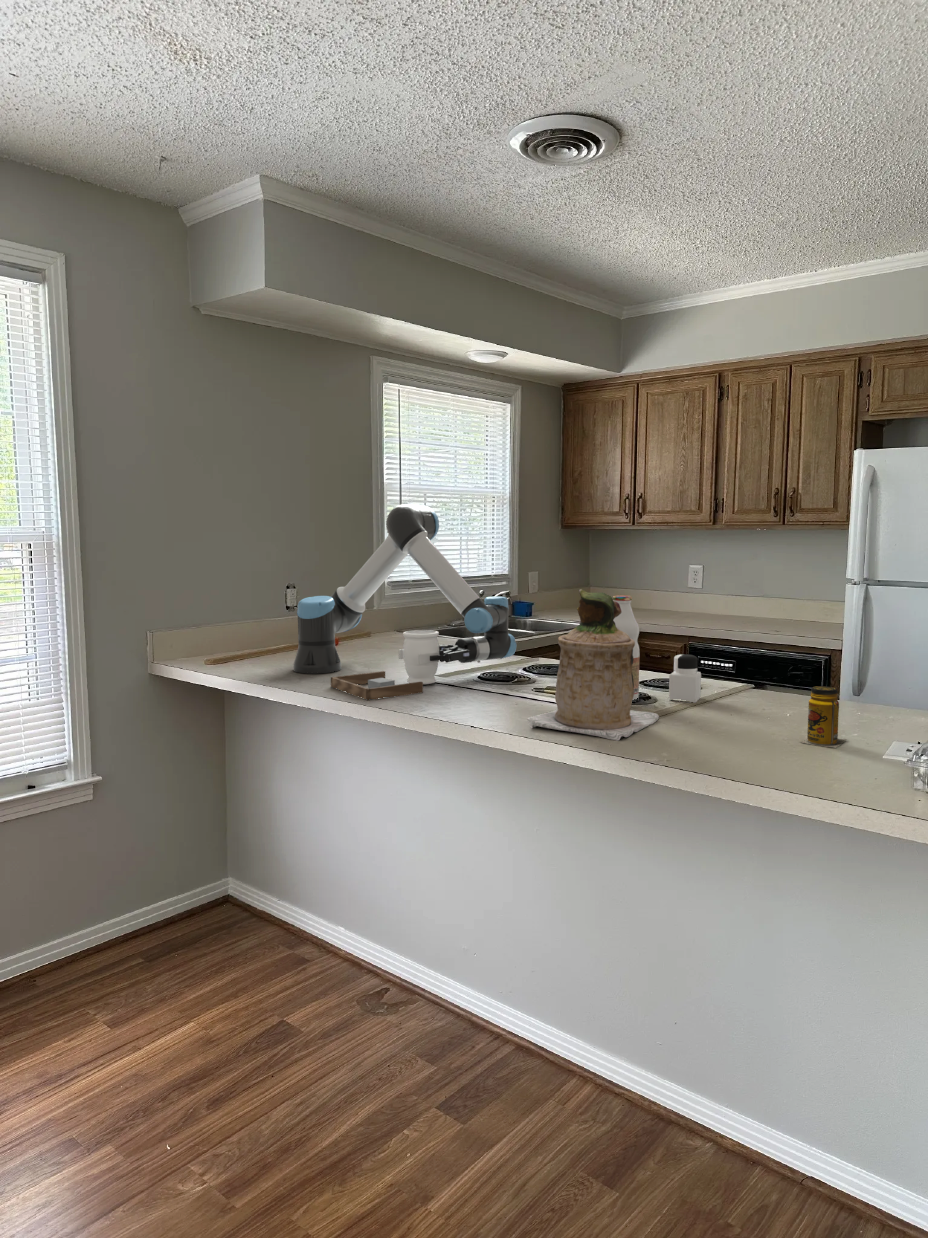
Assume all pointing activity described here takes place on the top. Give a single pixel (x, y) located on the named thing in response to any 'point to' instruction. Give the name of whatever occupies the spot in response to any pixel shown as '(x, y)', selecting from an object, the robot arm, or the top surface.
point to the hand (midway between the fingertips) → (409, 656)
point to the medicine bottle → (685, 679)
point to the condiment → (823, 718)
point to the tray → (351, 681)
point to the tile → (380, 682)
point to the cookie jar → (595, 676)
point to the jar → (416, 645)
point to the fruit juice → (629, 634)
